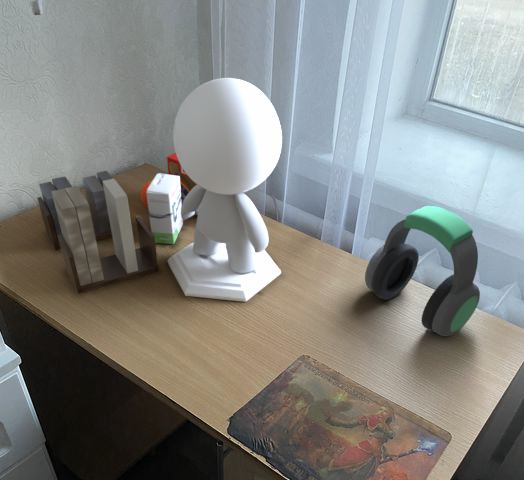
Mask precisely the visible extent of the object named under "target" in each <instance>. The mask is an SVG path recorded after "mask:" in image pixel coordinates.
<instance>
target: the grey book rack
mask: <svg viewBox="0 0 524 480" xmlns="http://www.w3.org/2000/svg"><path fill="white" fill-rule="evenodd" d="M110 179H114V178H113V177H112V176H111V174H110V173H109V172H108V171H107V170H104V171H99V172H96V175H90V176H85V177H84V176H83V177H82V181H83V186H84V192H85V196H86V201H87V202H88V204H89V208H90V213H91V218H92V223H93V228H94V233H95V238H96V241H99V240H104V239H108V238H111V237H112V231H111V226H110V220H109V215H108V209H107V204H106V198H105V192H104V187H103V181H105V180H110ZM38 185H39V189H40V190H39V191H40V194H41V196H37V198H36V199H37V204H38V206H39V211H40V213H41V217H42V221H43V225H44V229H45V231H46V233H47V236H48V238H49V240H50V241H51V243H52V246H53V247H54V250H55V251H59V250H61V248H60V244H59V240H58V237H57V236H58V235H62V231H61V228H60V224H59V220H58V216H57V212H56V208H55V204H54V200H53V196H52V192H51V191H55V190H60V189H64V190H65V188H70V187H73V186H72V184H71V182H70V181H69V180H68V178H67V176H60V177H56V178H51V181H47V182H46V181H45V182H41V183H38ZM62 236H63V235H62ZM112 238H113V237H112Z"/></svg>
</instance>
